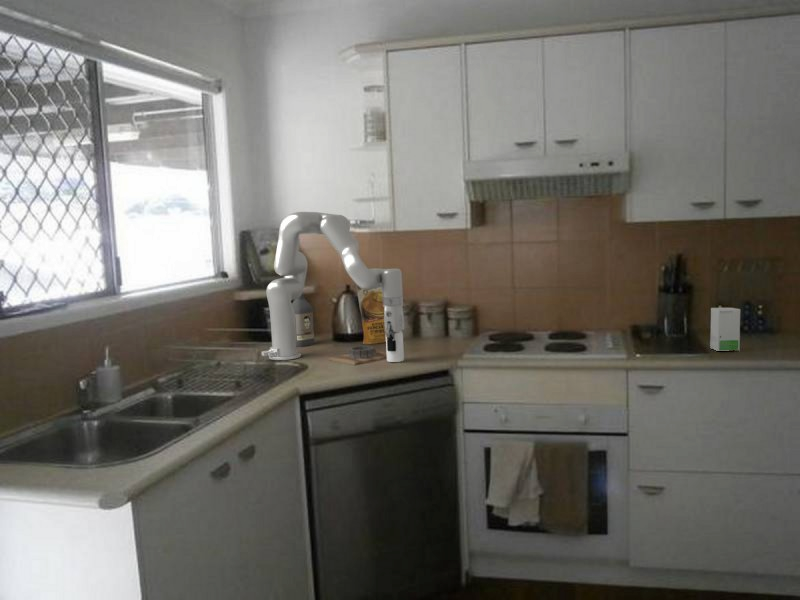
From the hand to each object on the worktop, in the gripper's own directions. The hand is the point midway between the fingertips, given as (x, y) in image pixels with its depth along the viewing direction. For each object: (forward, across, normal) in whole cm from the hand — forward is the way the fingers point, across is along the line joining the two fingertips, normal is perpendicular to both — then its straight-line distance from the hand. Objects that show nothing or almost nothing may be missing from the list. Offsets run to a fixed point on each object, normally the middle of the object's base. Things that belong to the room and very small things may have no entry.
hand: (394, 348), depth 255 cm
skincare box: (+5, +32, -117) cm, 121 cm away
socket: (+5, +4, +15) cm, 16 cm away
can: (+5, 0, 0) cm, 5 cm away
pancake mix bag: (+5, +38, +21) cm, 44 cm away
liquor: (+5, +30, +53) cm, 61 cm away
